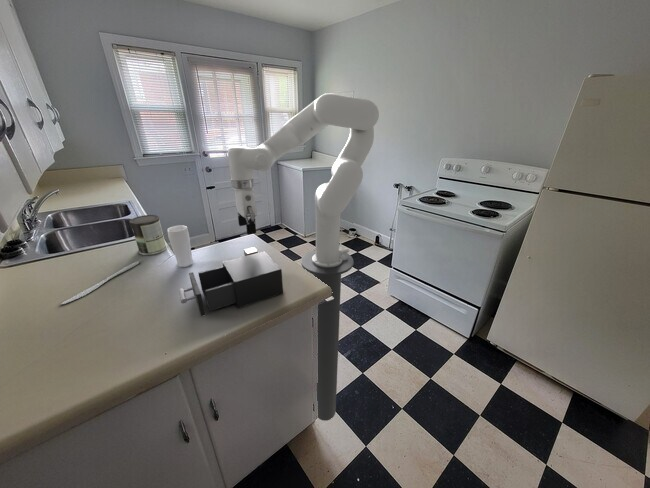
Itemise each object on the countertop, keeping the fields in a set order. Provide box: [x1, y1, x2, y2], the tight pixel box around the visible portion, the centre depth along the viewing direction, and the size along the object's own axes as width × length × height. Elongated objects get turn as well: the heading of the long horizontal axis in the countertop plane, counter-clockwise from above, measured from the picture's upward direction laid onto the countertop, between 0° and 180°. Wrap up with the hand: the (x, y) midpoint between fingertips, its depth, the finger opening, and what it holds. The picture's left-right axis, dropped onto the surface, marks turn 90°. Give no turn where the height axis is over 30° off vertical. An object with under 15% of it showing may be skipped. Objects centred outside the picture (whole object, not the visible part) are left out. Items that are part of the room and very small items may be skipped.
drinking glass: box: [166, 224, 194, 268], centre depth 101 cm, size 7×7×15 cm
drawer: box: [177, 265, 237, 317], centre depth 82 cm, size 18×13×7 cm
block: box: [243, 246, 259, 256], centre depth 107 cm, size 4×4×4 cm
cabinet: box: [221, 251, 284, 309], centre depth 88 cm, size 15×15×9 cm
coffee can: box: [129, 214, 168, 256], centre depth 113 cm, size 10×10×14 cm
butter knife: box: [61, 261, 140, 305], centre depth 93 cm, size 1×27×3 cm
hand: (247, 229), depth 101 cm, fingers open, 9 cm apart
